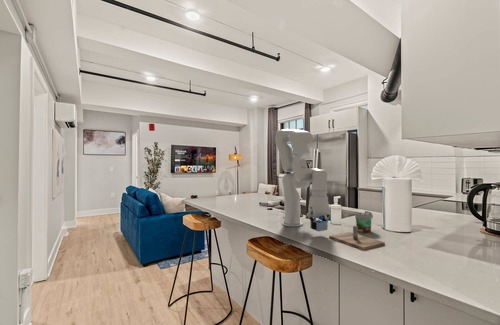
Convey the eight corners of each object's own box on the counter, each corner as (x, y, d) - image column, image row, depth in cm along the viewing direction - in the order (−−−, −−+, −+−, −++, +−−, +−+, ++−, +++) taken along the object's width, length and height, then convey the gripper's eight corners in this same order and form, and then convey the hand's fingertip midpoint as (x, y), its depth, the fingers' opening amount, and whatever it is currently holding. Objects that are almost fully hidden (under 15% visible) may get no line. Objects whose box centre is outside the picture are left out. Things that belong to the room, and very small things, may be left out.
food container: (367, 235, 127) (366, 215, 127) (355, 232, 132) (355, 214, 132) (377, 230, 135) (376, 212, 135) (365, 228, 140) (365, 210, 140)
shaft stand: (329, 238, 123) (328, 223, 123) (349, 234, 129) (348, 220, 129) (363, 250, 105) (363, 233, 105) (384, 245, 111) (384, 229, 111)
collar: (310, 228, 128) (310, 220, 128) (319, 226, 131) (319, 219, 131) (318, 231, 123) (318, 223, 123) (327, 229, 125) (327, 222, 125)
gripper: (326, 191, 133) (326, 224, 134) (301, 193, 126) (300, 228, 126) (337, 193, 126) (336, 227, 127) (310, 195, 119) (310, 232, 119)
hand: (318, 227), depth 127 cm, fingers closed on collar, 6 cm apart
